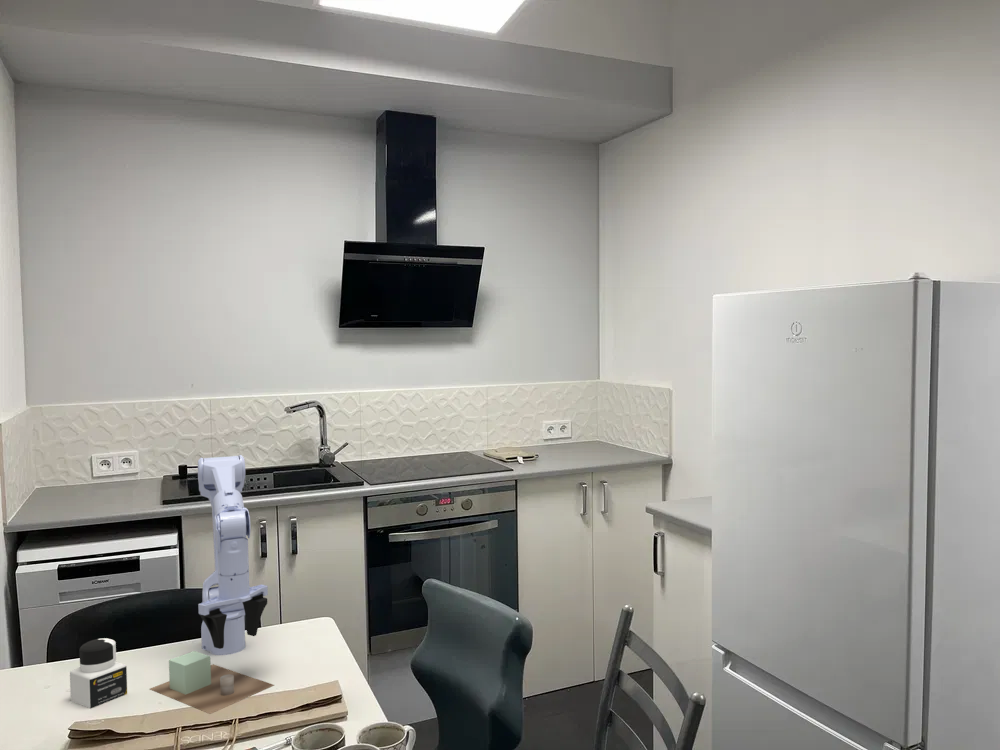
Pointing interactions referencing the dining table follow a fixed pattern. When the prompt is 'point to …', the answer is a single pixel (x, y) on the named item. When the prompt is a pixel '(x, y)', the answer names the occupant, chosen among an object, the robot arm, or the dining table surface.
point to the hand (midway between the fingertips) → (235, 641)
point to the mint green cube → (189, 672)
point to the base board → (217, 690)
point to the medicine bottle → (98, 674)
